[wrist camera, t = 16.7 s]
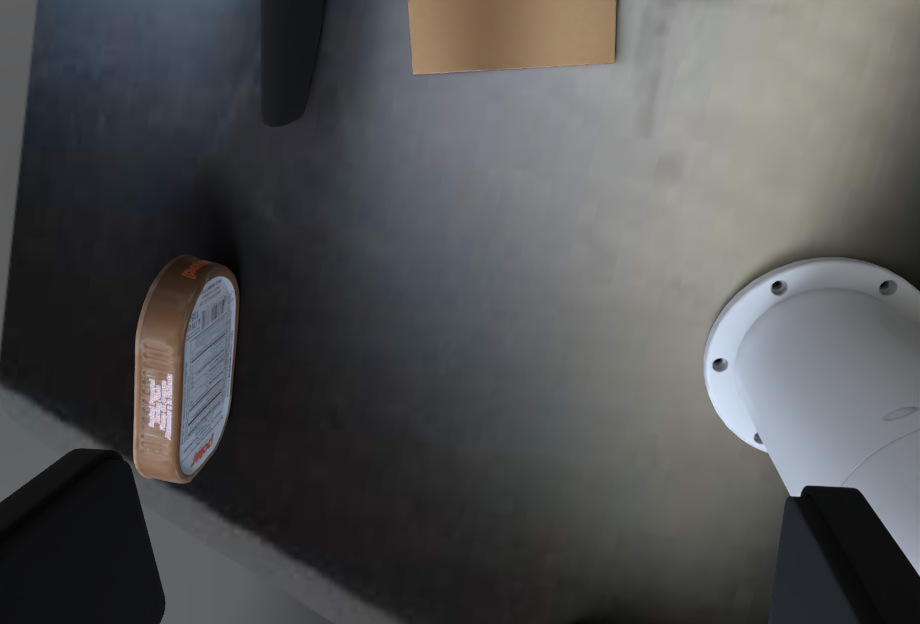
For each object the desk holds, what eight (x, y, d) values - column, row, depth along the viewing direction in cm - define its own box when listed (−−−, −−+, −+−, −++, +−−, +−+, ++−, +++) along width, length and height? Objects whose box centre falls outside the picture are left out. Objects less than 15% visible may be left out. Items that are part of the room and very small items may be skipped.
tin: (208, 239, 42) (124, 276, 34) (253, 251, 41) (179, 290, 34) (197, 432, 47) (122, 502, 39) (237, 443, 47) (170, 516, 39)
